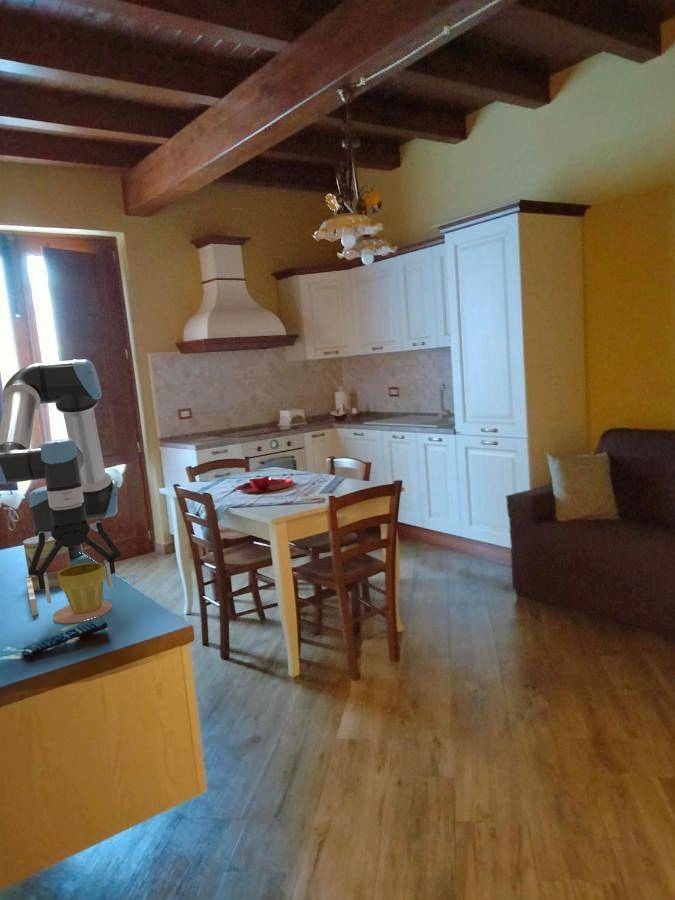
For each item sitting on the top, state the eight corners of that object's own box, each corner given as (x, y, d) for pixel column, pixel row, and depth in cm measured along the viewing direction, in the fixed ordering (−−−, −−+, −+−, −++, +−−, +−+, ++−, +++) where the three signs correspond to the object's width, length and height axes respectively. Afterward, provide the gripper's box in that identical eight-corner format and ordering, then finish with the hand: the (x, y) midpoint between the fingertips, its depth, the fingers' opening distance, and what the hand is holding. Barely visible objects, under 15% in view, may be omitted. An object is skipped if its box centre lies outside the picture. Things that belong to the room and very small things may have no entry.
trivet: (62, 607, 161) (61, 604, 161) (116, 599, 162) (116, 596, 162) (46, 627, 148) (45, 623, 148) (105, 619, 150) (105, 615, 149)
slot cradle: (28, 591, 176) (25, 577, 176) (89, 578, 183) (87, 564, 183) (32, 615, 157) (29, 599, 156) (100, 599, 164) (98, 584, 163)
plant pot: (63, 620, 149) (57, 579, 148) (63, 607, 158) (57, 568, 157) (111, 610, 153) (105, 569, 151) (108, 597, 162) (102, 559, 161)
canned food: (25, 580, 188) (18, 539, 186) (66, 570, 194) (60, 530, 193) (34, 588, 179) (28, 545, 177) (77, 577, 185) (71, 536, 184)
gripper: (7, 519, 143) (22, 612, 146) (125, 499, 154) (137, 586, 157) (7, 513, 150) (21, 603, 152) (120, 494, 161) (131, 578, 164)
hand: (80, 594), depth 155 cm, fingers open, 13 cm apart
